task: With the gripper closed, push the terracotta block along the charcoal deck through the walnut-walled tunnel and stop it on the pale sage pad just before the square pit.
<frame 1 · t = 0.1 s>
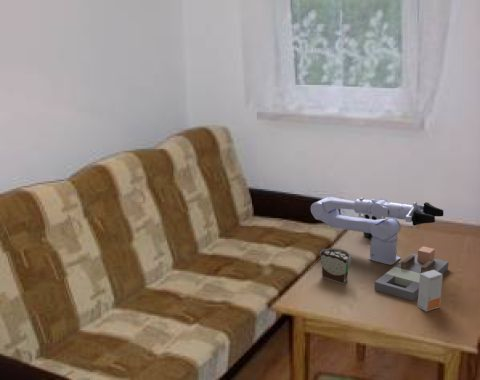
hand: (438, 216, 222), 22 cm above the table, tool horizontal, fingers open, 7 cm apart
deck: (412, 279, 224), on the table
tunnel walls: (417, 264, 226), on the deck, point 4 cm above the table
food container: (338, 278, 227), on the table
terracotta block: (425, 261, 231), point 3 cm above the table, touching deck
character mug: (371, 236, 264), on the table
skincare box: (428, 307, 205), on the table
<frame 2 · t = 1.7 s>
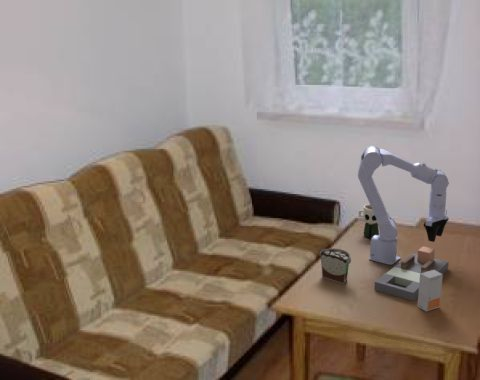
hand: (435, 238, 235), 9 cm above the table, tool pointing down, fingers open, 6 cm apart
nothing on the table moved.
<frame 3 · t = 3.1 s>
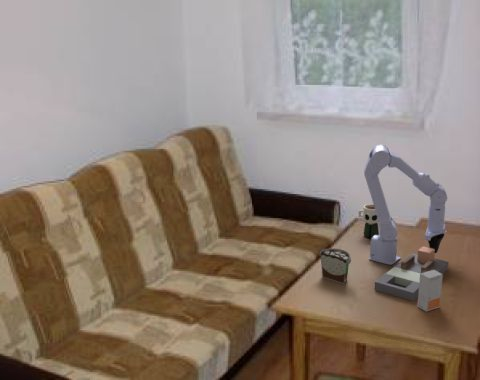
hand: (433, 252, 236), 4 cm above the table, tool pointing down, fingers closed
nothing on the table moved.
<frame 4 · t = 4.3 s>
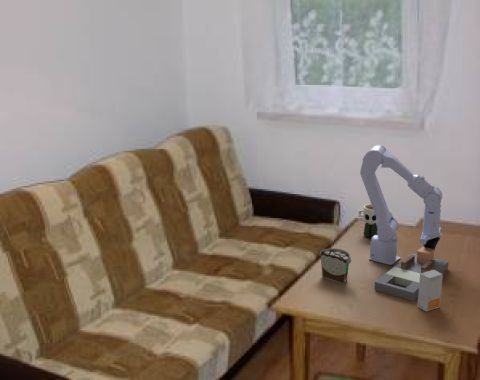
hand: (429, 255, 233), 4 cm above the table, tool pointing down, fingers closed
terracotta block: (425, 261, 231), point 3 cm above the table, touching deck, gripper
everything else where it was.
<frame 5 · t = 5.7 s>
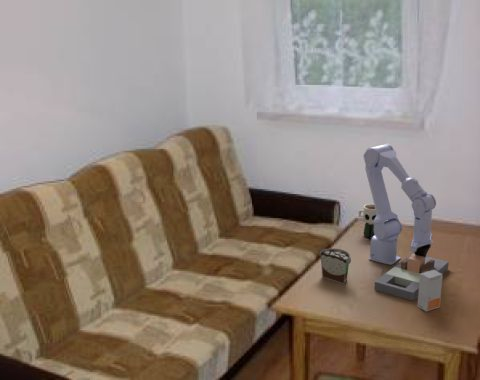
hand: (420, 263, 227), 4 cm above the table, tool pointing down, fingers closed
terracotta block: (415, 269, 225), point 3 cm above the table, touching deck, gripper
everything else where it was.
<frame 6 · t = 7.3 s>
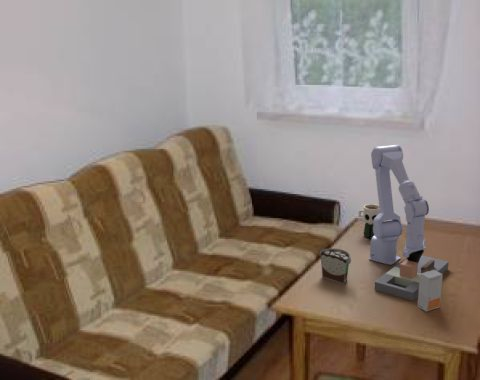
hand: (413, 269, 223), 4 cm above the table, tool pointing down, fingers closed
terracotta block: (408, 275, 221), point 3 cm above the table, touching deck, gripper
everything else where it was.
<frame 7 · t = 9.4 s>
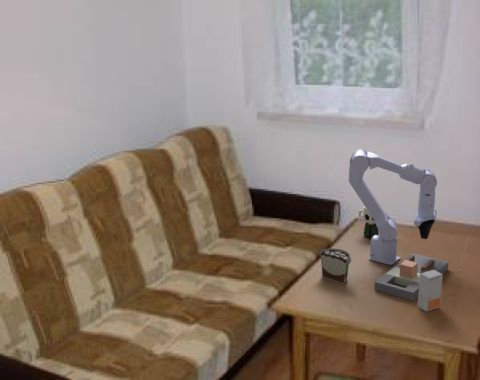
hand: (424, 238, 235), 9 cm above the table, tool pointing down, fingers closed
terracotta block: (408, 275, 220), point 3 cm above the table, touching deck
everything else where it was.
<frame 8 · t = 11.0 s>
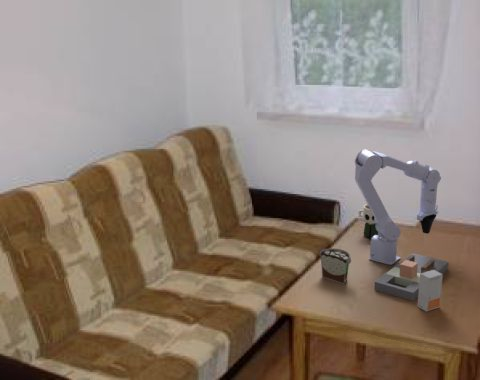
hand: (426, 232, 240), 9 cm above the table, tool pointing down, fingers closed
nothing on the table moved.
at the end: terracotta block 0.2 cm from the target spot, point 3.0 cm above the table; terracotta block tilted 0° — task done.
